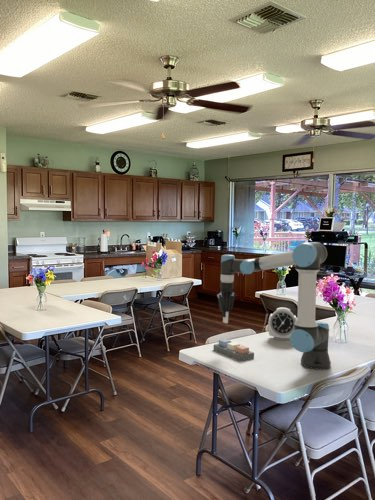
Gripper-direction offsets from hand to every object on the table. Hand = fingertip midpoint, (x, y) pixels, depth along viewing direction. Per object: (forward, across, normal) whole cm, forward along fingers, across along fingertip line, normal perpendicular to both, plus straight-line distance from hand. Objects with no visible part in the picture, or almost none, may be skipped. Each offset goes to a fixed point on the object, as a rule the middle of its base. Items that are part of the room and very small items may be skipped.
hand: (225, 322), depth 247 cm
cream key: (+13, 0, +8) cm, 15 cm away
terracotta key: (+13, 0, +15) cm, 20 cm away
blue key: (+13, 0, 0) cm, 13 cm away
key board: (+16, 0, +8) cm, 18 cm away
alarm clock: (+16, -48, 0) cm, 51 cm away
